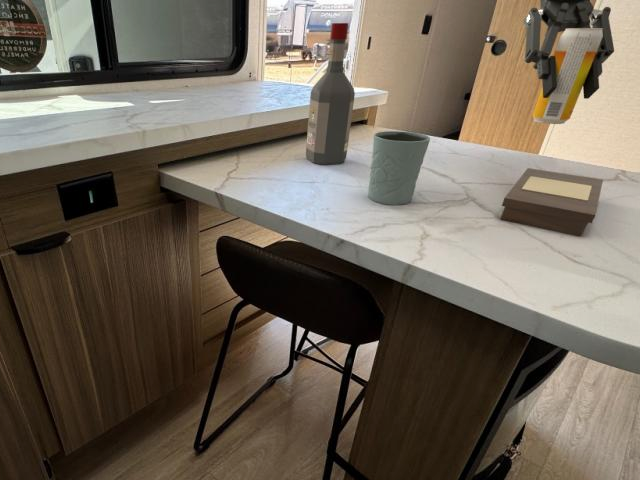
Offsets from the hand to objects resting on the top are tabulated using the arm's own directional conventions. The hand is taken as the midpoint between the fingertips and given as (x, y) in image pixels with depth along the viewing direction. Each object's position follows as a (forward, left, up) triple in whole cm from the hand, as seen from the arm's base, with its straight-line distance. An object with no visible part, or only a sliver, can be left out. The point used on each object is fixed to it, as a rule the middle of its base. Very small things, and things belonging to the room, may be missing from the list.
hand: (570, 92), depth 74 cm
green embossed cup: (+27, +9, -19) cm, 34 cm away
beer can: (+1, -4, -6) cm, 7 cm away
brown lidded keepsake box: (-2, +6, -19) cm, 20 cm away
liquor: (+44, -16, -19) cm, 51 cm away
